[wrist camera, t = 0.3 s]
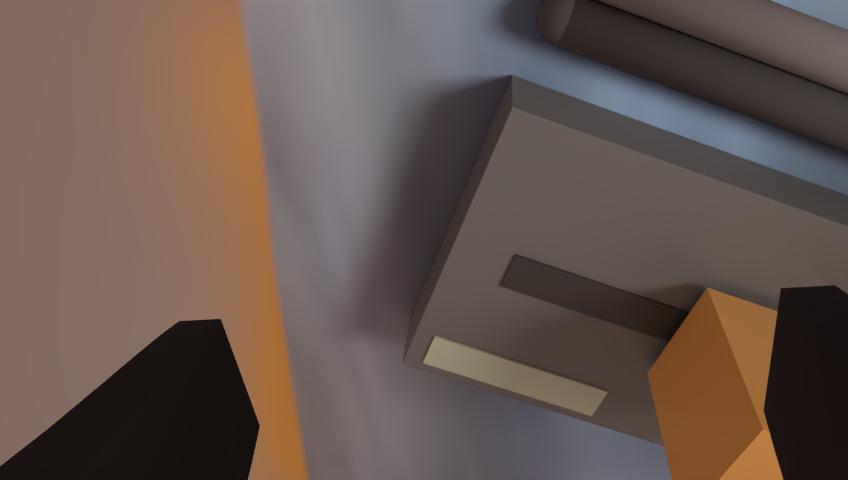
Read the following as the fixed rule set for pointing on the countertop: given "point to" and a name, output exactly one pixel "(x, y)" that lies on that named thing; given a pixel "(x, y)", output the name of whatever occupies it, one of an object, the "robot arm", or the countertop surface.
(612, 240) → the switch panel
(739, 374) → the knob
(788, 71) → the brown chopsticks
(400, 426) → the countertop surface
